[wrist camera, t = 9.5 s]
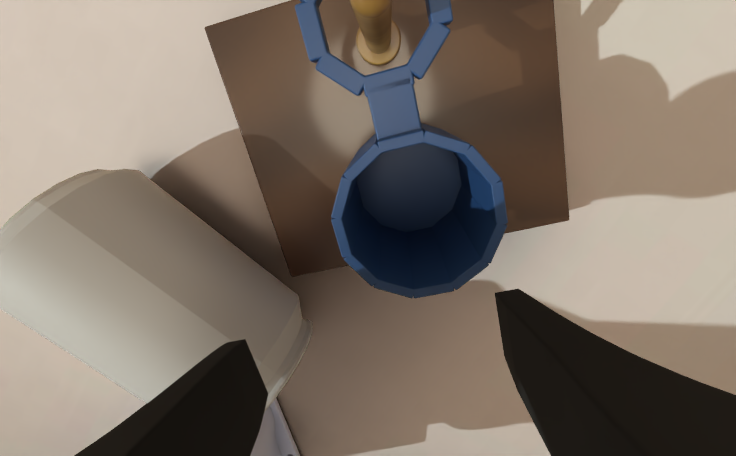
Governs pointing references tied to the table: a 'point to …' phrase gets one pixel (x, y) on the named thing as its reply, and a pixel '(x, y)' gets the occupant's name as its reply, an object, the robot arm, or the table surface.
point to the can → (142, 285)
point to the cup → (409, 177)
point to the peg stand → (433, 94)
